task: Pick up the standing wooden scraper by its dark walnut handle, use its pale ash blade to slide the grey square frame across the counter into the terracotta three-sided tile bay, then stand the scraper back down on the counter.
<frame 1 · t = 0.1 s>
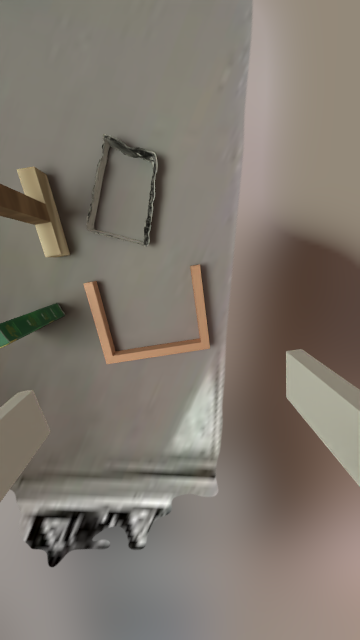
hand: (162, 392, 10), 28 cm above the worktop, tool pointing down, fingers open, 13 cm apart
coffee box: (44, 317, 38), on the worktop
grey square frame: (128, 199, 33), on the worktop
tile bay: (150, 311, 38), on the worktop
wooden scraper: (51, 218, 33), on the worktop
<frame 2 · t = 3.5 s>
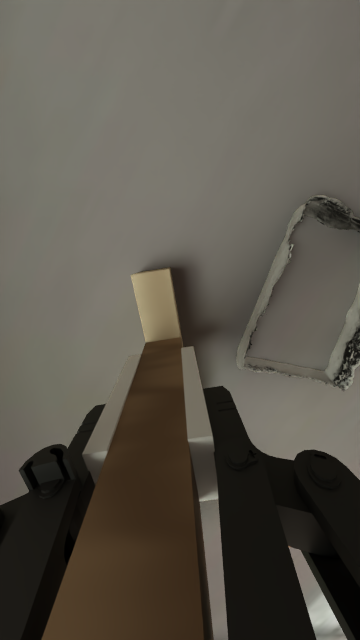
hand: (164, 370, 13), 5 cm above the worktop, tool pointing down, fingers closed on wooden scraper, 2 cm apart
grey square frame: (305, 300, 17), on the worktop
wooden scraper: (167, 339, 17), on the worktop, touching gripper
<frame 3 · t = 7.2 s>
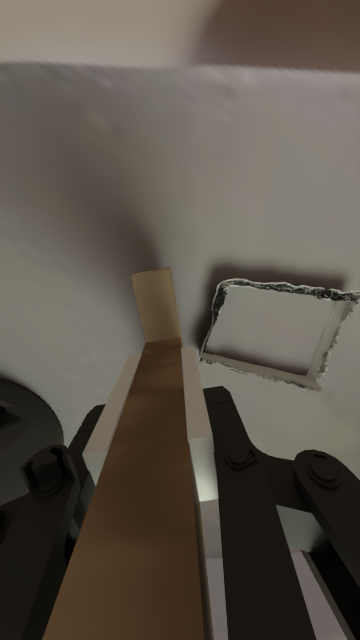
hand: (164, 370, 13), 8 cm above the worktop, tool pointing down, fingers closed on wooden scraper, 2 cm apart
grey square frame: (265, 324, 21), on the worktop
wooden scraper: (167, 340, 17), point 2 cm above the worktop, touching gripper
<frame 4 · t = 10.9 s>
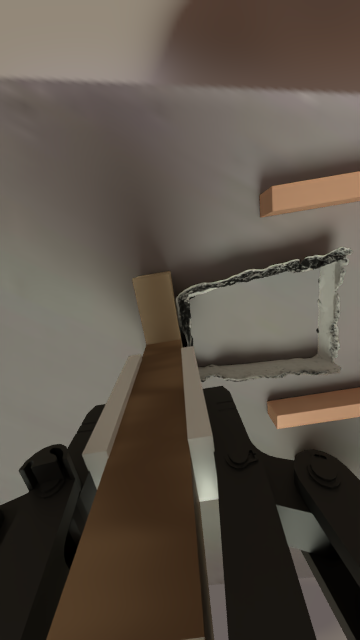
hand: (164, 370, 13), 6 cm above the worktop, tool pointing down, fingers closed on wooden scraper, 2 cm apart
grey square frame: (251, 317, 18), on the worktop
tile bay: (343, 309, 18), on the worktop
wooden scraper: (167, 342, 18), on the worktop, touching gripper
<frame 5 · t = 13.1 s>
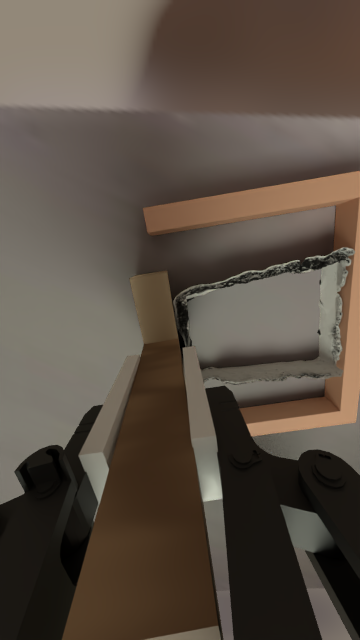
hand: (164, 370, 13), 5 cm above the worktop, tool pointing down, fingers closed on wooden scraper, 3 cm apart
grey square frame: (251, 319, 18), on the worktop, touching wooden scraper
tile bay: (248, 326, 18), on the worktop
wooden scraper: (164, 341, 18), on the worktop, touching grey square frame, gripper
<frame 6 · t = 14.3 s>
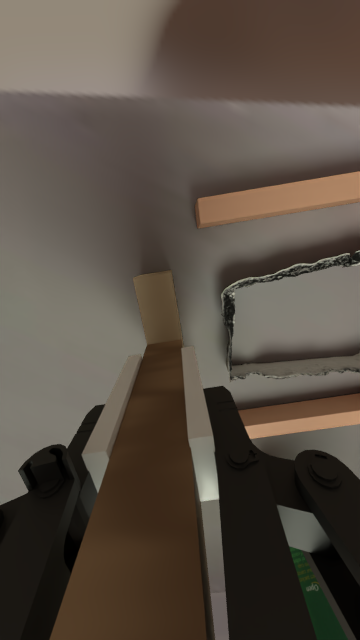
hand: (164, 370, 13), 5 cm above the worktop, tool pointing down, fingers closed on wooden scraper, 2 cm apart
coffee box: (271, 486, 23), on the worktop
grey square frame: (291, 314, 18), on the worktop
tile bay: (290, 321, 17), on the worktop
wooden scraper: (168, 341, 18), on the worktop, touching gripper
when the fingers open (6 cm above the worktop, at t = 19.1 s): wooden scraper stays where it is, on the worktop.
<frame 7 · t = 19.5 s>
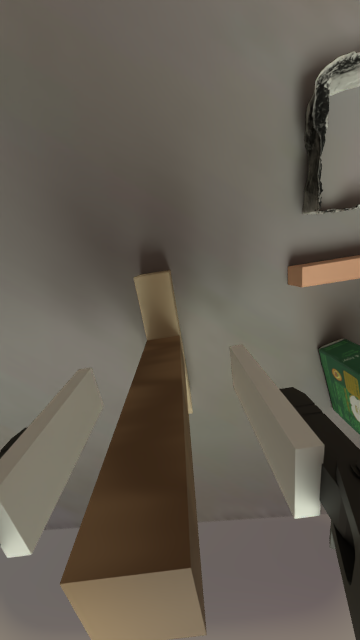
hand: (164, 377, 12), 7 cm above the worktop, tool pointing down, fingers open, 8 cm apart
coffee box: (336, 374, 20), on the worktop
wooden scraper: (167, 338, 18), on the worktop
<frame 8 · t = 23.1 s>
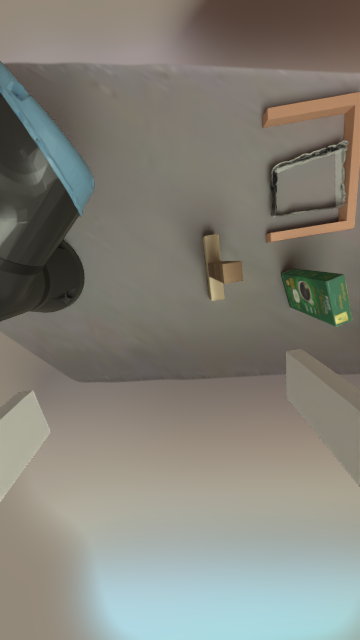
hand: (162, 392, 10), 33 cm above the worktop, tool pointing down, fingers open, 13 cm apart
coffee box: (290, 288, 42), on the worktop
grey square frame: (301, 187, 37), on the worktop
tile bay: (302, 178, 36), on the worktop
wooden scraper: (212, 268, 41), on the worktop
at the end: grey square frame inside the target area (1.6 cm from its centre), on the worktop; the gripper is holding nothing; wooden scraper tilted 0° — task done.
